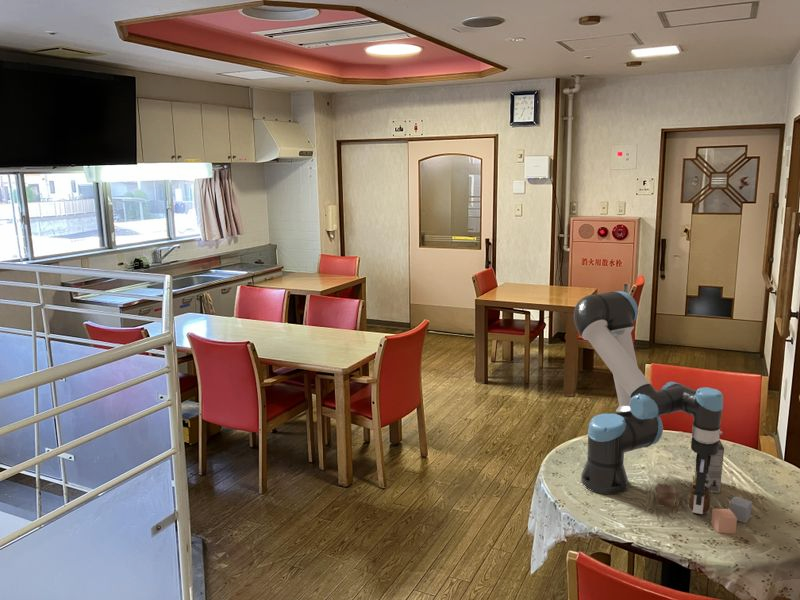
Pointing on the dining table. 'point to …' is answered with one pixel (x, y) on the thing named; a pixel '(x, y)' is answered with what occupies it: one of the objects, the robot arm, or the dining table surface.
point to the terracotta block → (724, 520)
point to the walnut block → (666, 495)
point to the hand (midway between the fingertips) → (698, 507)
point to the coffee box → (715, 470)
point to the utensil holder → (706, 497)
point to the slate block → (741, 508)
